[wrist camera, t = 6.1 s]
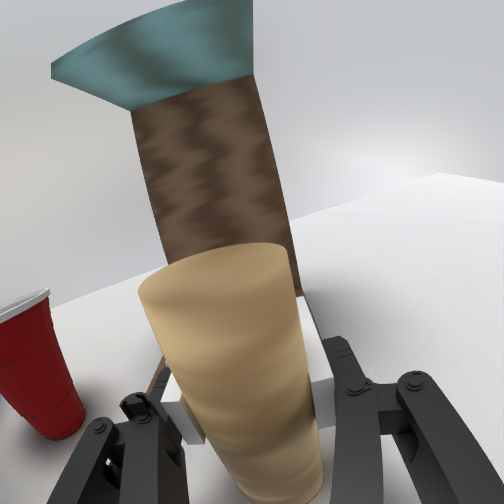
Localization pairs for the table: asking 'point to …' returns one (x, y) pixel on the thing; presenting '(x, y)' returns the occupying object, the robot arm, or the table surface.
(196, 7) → the awning stand
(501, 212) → the table surface
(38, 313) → the plastic cup
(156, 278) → the peg
